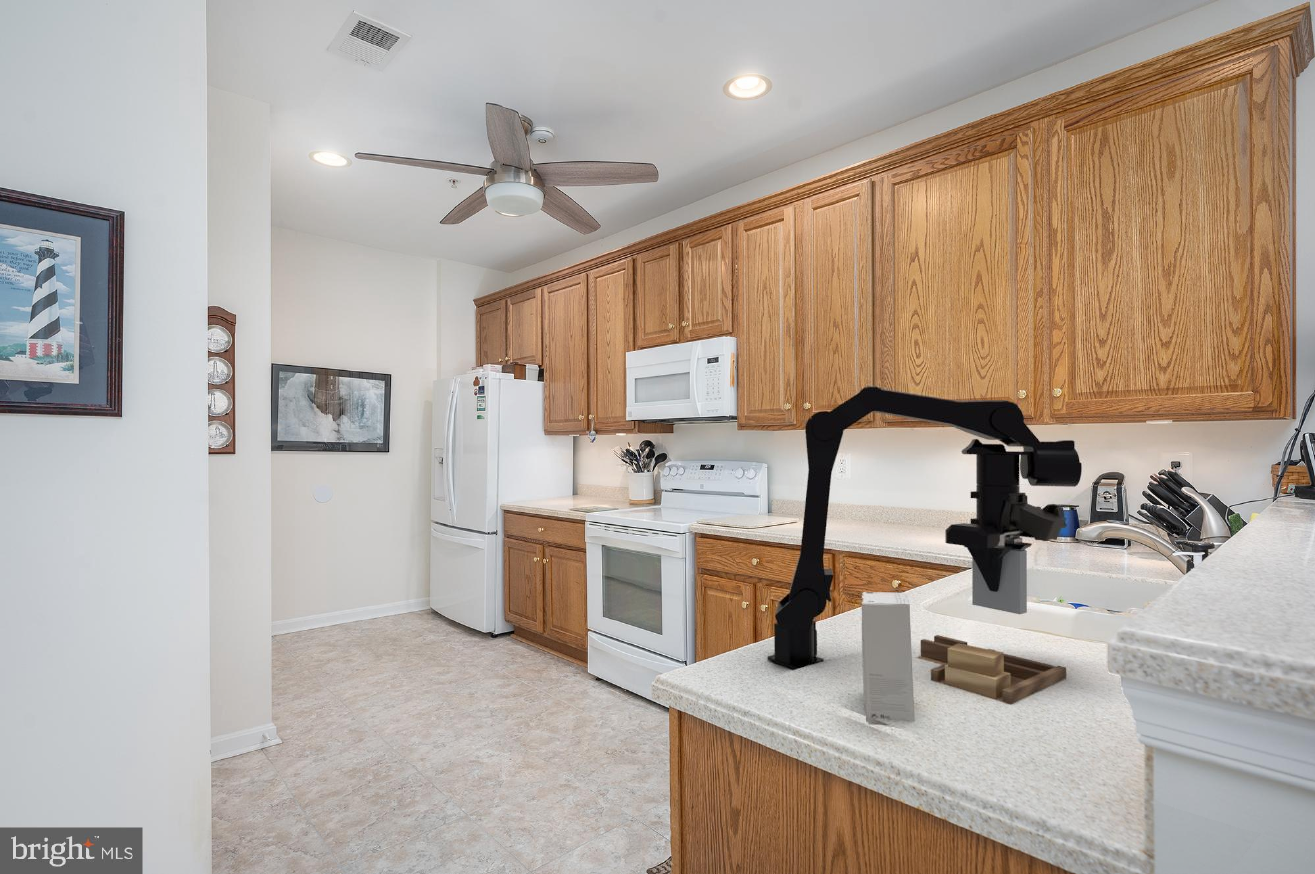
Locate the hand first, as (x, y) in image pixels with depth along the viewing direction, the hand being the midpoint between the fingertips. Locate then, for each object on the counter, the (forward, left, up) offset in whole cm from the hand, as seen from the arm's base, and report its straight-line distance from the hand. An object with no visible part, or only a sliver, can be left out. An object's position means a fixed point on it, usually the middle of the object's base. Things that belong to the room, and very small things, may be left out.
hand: (997, 590), depth 97 cm
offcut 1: (-10, -2, -9) cm, 14 cm away
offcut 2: (-10, -2, -12) cm, 16 cm away
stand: (-1, +8, -13) cm, 15 cm away
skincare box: (-25, +1, -13) cm, 29 cm away
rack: (-4, -2, -13) cm, 14 cm away
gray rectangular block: (0, 0, -3) cm, 3 cm away
